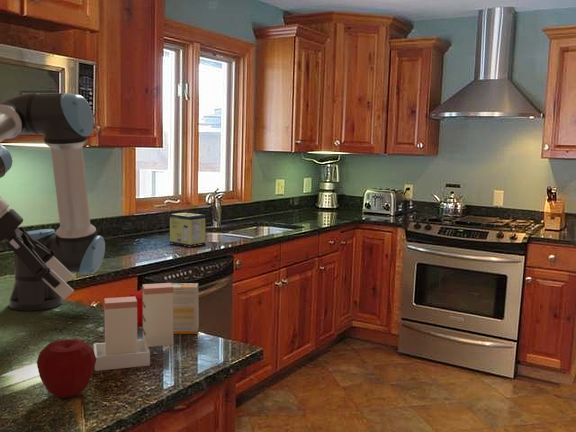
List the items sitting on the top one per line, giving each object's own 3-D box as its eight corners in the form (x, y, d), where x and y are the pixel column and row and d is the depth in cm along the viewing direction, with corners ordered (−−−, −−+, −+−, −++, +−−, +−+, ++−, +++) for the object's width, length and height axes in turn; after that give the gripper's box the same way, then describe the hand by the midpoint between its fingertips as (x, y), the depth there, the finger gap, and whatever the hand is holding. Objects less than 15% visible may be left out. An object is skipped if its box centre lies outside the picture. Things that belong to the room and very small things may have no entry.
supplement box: (199, 329, 160) (199, 282, 158) (196, 334, 155) (197, 287, 153) (169, 328, 159) (169, 282, 158) (165, 334, 155) (165, 286, 153)
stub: (105, 356, 136) (104, 298, 134) (135, 353, 138) (135, 296, 137) (105, 363, 132) (105, 303, 130) (137, 360, 134) (137, 301, 133)
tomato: (130, 317, 169) (130, 282, 168) (173, 318, 169) (174, 284, 167) (118, 329, 158) (117, 292, 157) (164, 330, 158) (164, 294, 156)
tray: (93, 356, 138) (93, 343, 137) (145, 351, 142) (145, 339, 141) (94, 370, 129) (94, 357, 128) (149, 365, 133) (149, 352, 132)
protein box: (183, 241, 302) (184, 212, 300) (205, 245, 293) (206, 214, 291) (169, 244, 293) (169, 213, 292) (191, 247, 285) (191, 216, 283)
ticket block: (142, 341, 149) (142, 284, 147) (170, 338, 151) (170, 282, 149) (144, 347, 144) (144, 288, 143) (173, 344, 147) (173, 287, 145)
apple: (25, 401, 113) (24, 343, 112) (64, 381, 123) (63, 327, 122) (70, 411, 109) (69, 351, 108) (107, 389, 119) (106, 334, 118)
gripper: (-10, 221, 134) (57, 284, 142) (-27, 241, 111) (54, 315, 119) (15, 200, 136) (81, 263, 143) (4, 215, 113) (83, 289, 120)
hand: (69, 287), depth 131 cm, fingers open, 13 cm apart
